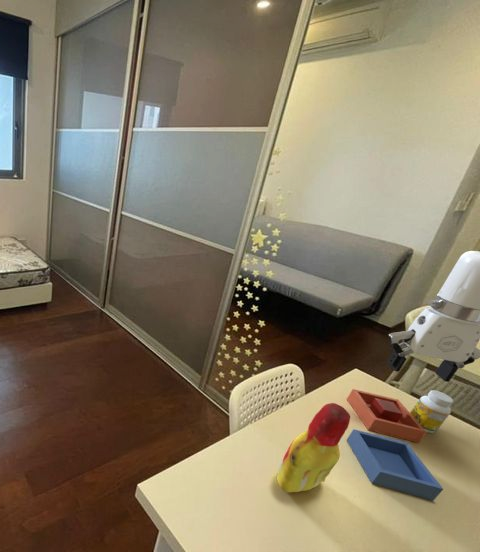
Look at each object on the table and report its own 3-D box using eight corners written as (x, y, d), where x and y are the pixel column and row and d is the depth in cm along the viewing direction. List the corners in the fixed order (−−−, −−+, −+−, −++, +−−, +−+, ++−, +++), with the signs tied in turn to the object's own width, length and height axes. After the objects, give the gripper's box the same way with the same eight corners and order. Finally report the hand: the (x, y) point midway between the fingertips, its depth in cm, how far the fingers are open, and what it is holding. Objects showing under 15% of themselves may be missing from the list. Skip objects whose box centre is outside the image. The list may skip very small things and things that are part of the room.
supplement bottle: (439, 437, 78) (462, 408, 74) (411, 427, 80) (432, 398, 76) (429, 421, 82) (451, 393, 78) (403, 412, 84) (422, 384, 80)
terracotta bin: (391, 409, 85) (398, 399, 83) (418, 443, 75) (427, 432, 74) (346, 398, 87) (352, 388, 85) (367, 430, 77) (375, 419, 76)
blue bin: (399, 453, 72) (407, 442, 70) (433, 500, 63) (443, 489, 61) (346, 439, 74) (353, 428, 73) (371, 483, 65) (380, 471, 63)
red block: (385, 413, 82) (393, 402, 81) (394, 425, 79) (403, 414, 77) (367, 409, 83) (375, 397, 81) (376, 421, 80) (384, 409, 78)
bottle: (289, 506, 59) (336, 429, 50) (260, 474, 64) (298, 400, 56) (330, 486, 63) (379, 412, 55) (299, 457, 68) (340, 386, 60)
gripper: (421, 309, 66) (383, 374, 73) (525, 326, 63) (475, 393, 70) (398, 294, 73) (365, 354, 80) (491, 309, 69) (448, 371, 76)
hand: (416, 372), depth 75 cm, fingers open, 9 cm apart
